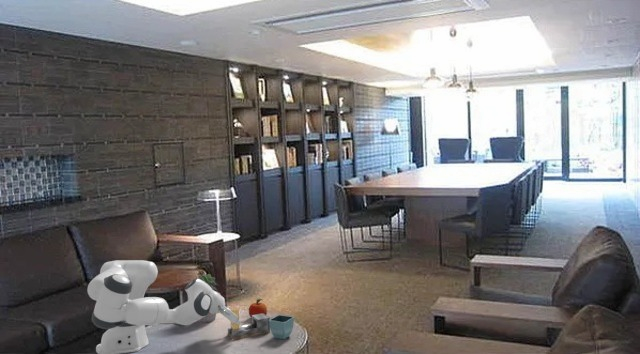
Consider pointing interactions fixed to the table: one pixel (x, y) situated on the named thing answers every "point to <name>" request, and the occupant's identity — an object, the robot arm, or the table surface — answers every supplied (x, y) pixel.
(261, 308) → the fruit
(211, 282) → the potted plant
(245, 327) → the tall wooden block
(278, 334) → the flower pot
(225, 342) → the table surface
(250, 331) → the rail base
